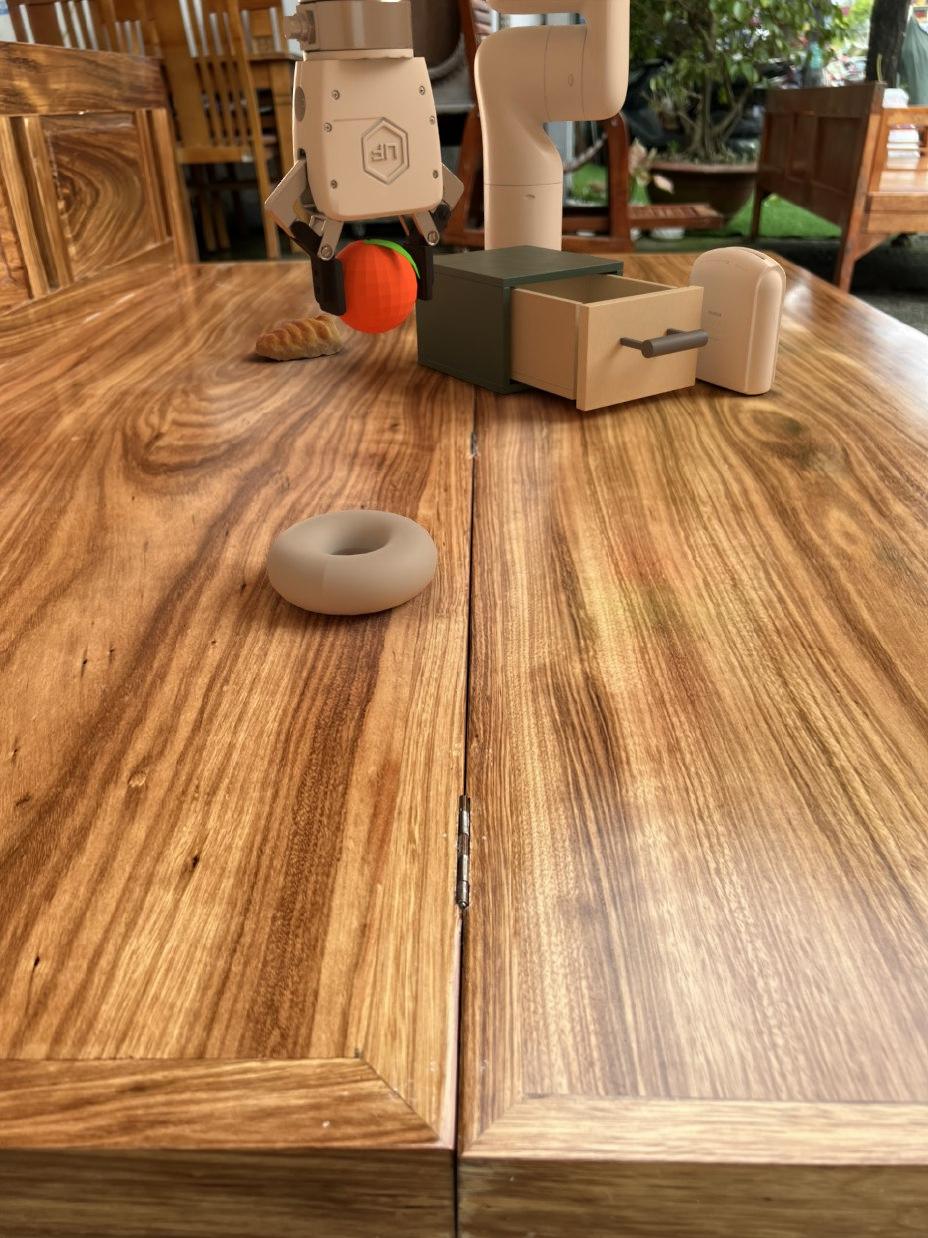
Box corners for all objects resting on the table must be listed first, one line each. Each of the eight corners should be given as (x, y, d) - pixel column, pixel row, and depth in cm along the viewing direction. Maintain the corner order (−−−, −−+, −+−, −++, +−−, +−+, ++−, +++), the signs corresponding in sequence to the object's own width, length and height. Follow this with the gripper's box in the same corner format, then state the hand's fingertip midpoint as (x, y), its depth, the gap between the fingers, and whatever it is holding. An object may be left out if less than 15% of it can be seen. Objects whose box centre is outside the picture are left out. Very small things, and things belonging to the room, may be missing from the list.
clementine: (447, 328, 76) (444, 232, 72) (396, 349, 71) (390, 247, 67) (367, 318, 79) (360, 226, 76) (313, 337, 74) (302, 240, 71)
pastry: (274, 366, 103) (269, 330, 101) (245, 356, 108) (240, 321, 106) (348, 351, 108) (345, 317, 106) (317, 342, 113) (313, 309, 111)
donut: (433, 548, 61) (276, 553, 61) (432, 497, 60) (271, 502, 59) (444, 623, 53) (260, 631, 52) (443, 566, 51) (253, 573, 50)
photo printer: (675, 374, 96) (686, 243, 90) (709, 368, 98) (722, 239, 92) (743, 398, 88) (760, 257, 82) (779, 392, 90) (798, 252, 84)
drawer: (729, 395, 86) (740, 293, 82) (618, 423, 80) (624, 314, 76) (592, 355, 100) (596, 267, 96) (488, 377, 94) (487, 283, 89)
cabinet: (618, 369, 98) (623, 261, 93) (503, 394, 91) (502, 278, 86) (526, 342, 110) (526, 244, 105) (417, 363, 103) (412, 258, 98)
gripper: (260, 34, 58) (295, 332, 67) (493, 31, 66) (496, 296, 75) (215, 39, 64) (252, 314, 72) (435, 35, 72) (444, 282, 81)
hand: (376, 303), depth 74 cm, fingers closed on clementine, 7 cm apart
